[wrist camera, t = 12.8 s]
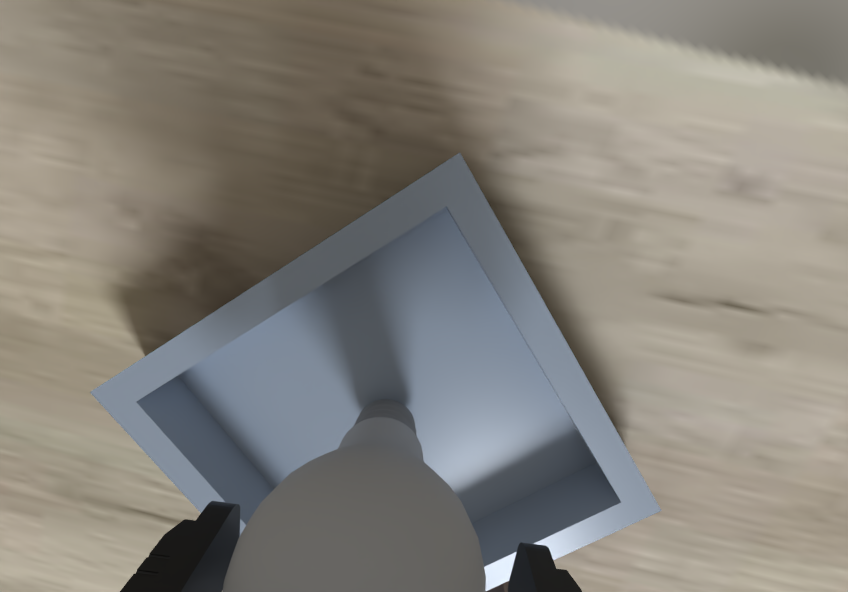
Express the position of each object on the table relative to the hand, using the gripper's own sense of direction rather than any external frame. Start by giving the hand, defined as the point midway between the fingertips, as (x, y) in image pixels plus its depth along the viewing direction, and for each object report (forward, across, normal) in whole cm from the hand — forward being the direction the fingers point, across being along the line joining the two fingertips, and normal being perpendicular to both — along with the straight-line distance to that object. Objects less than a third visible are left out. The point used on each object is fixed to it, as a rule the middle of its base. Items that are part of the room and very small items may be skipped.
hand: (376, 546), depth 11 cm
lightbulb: (+7, 0, 0) cm, 7 cm away
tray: (+7, 0, 0) cm, 7 cm away
